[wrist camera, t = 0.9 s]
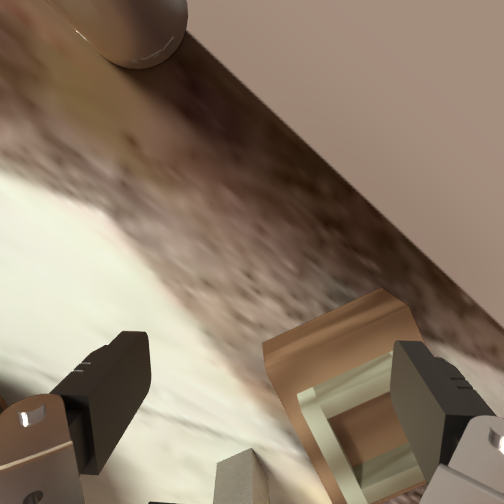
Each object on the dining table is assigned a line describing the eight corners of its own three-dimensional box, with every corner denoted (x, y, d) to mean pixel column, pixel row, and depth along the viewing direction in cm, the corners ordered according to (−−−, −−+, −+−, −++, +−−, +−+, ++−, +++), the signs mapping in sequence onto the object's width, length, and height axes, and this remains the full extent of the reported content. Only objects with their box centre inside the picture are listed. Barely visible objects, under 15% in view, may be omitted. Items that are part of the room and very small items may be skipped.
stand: (262, 343, 36) (267, 387, 28) (381, 287, 36) (423, 316, 27) (326, 470, 39) (349, 546, 30) (439, 421, 38) (494, 484, 30)
